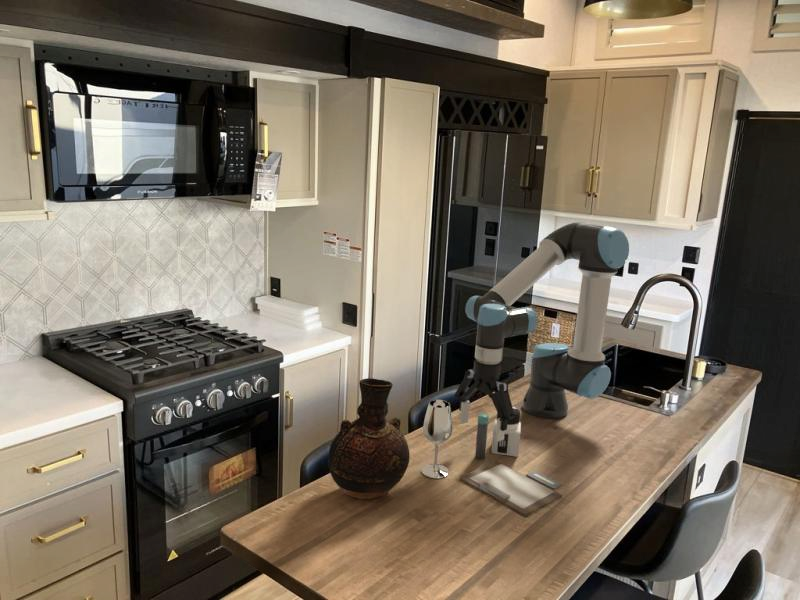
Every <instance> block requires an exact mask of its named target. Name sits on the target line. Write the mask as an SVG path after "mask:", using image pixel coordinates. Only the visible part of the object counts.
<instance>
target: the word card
mask: <svg viewBox="0 0 800 600" xmlns="http://www.w3.org/2000/svg"><path fill="white" fill-rule="evenodd" d="M525 476H526V477H528V478H530V479H532V480H534V481H536V482H538V483H540V484H542V485H544V486H546V487H548V488H550V489H552V490H553V491H555V490H556V489H558V488H560V487H562V486H563V485H562V483H560V482H559V481H556V480H554V479H552V478H551V477H548V476H546V475H544V474H542V473H540V472H538V471H536V470H532V471H530V472H528V473H527V474H526V475H525Z"/></svg>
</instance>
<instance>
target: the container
mask: <svg viewBox="0 0 800 600" xmlns="http://www.w3.org/2000/svg"><path fill="white" fill-rule="evenodd" d="M512 407H513V411H514V415H515V418H513V419H511V420H508V424H507V430H505V434H504V440H501V441H498V442H497V441H495V440H496V430H497V421H498V419H499V418H500V417H499V414H498V412H497V411H496V419H494V423H493V431H492V440H491V441H492V442H491V454H495V455H502V456H510V457H516V458H517V457H519V450H520V441H521V434H522V433H521V428H522V422H521V421H520V417H521V411H520V409H518V408H517V407H514V406H512ZM503 415H504V414H503Z"/></svg>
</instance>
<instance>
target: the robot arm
mask: <svg viewBox="0 0 800 600" xmlns="http://www.w3.org/2000/svg"><path fill="white" fill-rule="evenodd" d="M629 243H630V242H629V240H628V237H627V236H626V233H624V232H623V231H622V230H621V229H619V228H616V227H615V228H614V227H611V226H609V225H608V226H607V225H600V224H594V223H593V224H592V223H586V222H581V221H579V222H576V221H575V222H571V223H568V224H565V225H563V226H561V227H559V228H557V229H555V230H553V231H552V232H550V233H549V234H548V235H547V236H545V237H544V238H543V239H541V241H540V242H539V244H538V248H536V249H535V250H534V251H533V252H532V253H531V254H530V255H529V256H527V257H526V258H525V259H524V260H522V262H520V263H519V264H518V265H517V266H516V267H514V269H512V270H511V271H510V272H509V273H508V274H507V275H506V276H505V277H503V278H502V279H501V280H499V282H498V283H496V284H495V285H494V286H493V287H492V288H490V290H488V292H485V294H484V295H483V296H482V295H473V296H471V297H469V299H467V302H466V304H465V309H464V311H465V314H466V316H467V318H468V319H470V320H472V321H474V322H475V323H477V325H476V338H475V348H474V349H475V350H474V358H475V359H474V360H473V368H471V369H467V370H465V373H464V377H463V379H462V381H461V383H460V384H459V386H458V387H457V389H456V392H455V393H454V397H455V398H458V401H459V409H458V410H459V412H460V415H459V424H461V425H463V424H466V423H468V422H469V415H470V400H469V399H470V398H471V397H472V396H473V395H474V394H475V393H476V392H477V391H479V392H482V393H484V394H485V395H488V397H489V398H491V401H492V403H493V405H494V407H495V410H496V413H497V412H498V414H499V417H500V418H499V419H498V421H497V430H496V440H495V441H497V442H498V441H501V440H504V434H505V430H507V424H508V420H511V419H513V418H515V415H514V411H513V407H514V406H513V404H512V400H511V397H510V393H509V383H508V382H500V376H501V372H502V364H503V363H502V360H503V355H504V354H503V353H504V345H505V344H504V343H505V338H511V337H516V336H517V337H518V336H524V335H527V334H530V333H532V332H534V331H536V329H537V327H538V321H539V319H538V315H537V313H536V311H535V310H534V309H533V308H531V307H527V306H525V307H523V306H521V307H514V306H512V305H513V304H514V303H515V302H516V301H517V300H519V298H521V297H522V296H523V295H524V294H526V292H527V291H528V290H529V289H530V288H532V287H533V286H534V285H535V284H536V283H537V282H538V281H540V279H542V278H543V277H544V276H545V275H546V274H547V273H549V271H551V269H553V268H555V266H560V265H562V264H563V263H564V262H566V261H568V260H575V261H576V260H578V267H577V268H578V270H579V271H580V273H582V277H581V283H580V293H579V297H578V298H579V299H578V306H577V307H578V308H577V315H576V321H575V330H574V336H573V337H574V338H573V345H572V347H571V348H570V346H569V345H567V344H565V343H558V342H546V343H540V344H537V345H535V346H534V348H533V350H532V351H533V353H532V356H531V369H530V378H529V379H530V381H529V387H528V389H527V390H526V393H525V395H524V397H523V400H522V406H521V407H522V409H523V410H524V411H525V412H526V413H527V414H530V415H532V416H535V417H537V418H544V419H560V418H563V417H565V416H567V415H568V413H569V411H568V410H569V404H568V399H567V396H566V392H565V391H569V392H570V393H573V394H574V395H577V396H578V397H583V398H585V399H588V400H593V399H596V398H598V397H599V396H601V395H602V394H603V393H604V392H605V390H606V389H607V387H608V386H609V384H610V381H611V377H612V376H611V375H612V372H611V369H610V367H608V365H605V364H606V363H605V361H606V356H605V354H604V353H603V352H602V347H603V339H604V334H605V326H606V320H607V311H608V303H609V298H610V297H609V296H610V289H611V283H612V277H614V276H615V275H616V274H617V273H618V270H619V269H620V268H622V267H623V266H624V265H625V264H626V261H627V260H628V259H629V252H630V244H629ZM472 381H474V383H473V384H472V385H470V384H471V382H472ZM503 414H504V415H503Z"/></svg>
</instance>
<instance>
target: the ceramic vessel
mask: <svg viewBox="0 0 800 600" xmlns="http://www.w3.org/2000/svg"><path fill="white" fill-rule="evenodd" d="M392 388H393V383H392V382H391V381H389V380H385V379H377V378H373V377H371V378H363V379H361V380H359V391H360V394H361V395H360V396H361V400H360V401H361V402H360V404H359V405H358V407H357V409H356V410H357V411H356V413H357V415H358V418H356V419H354V420H353V421H350V420H348V419H343V420H342V421H341V423H340V429H339V431H338V432H337V434H335V436H334V438H333V439H332V441H331V443H330V446H329V450H328V455H327V456H328V457H327V464H328V470H329V473H330V476H331V478H332V480H333V482H334V483H336V485H337V486H338V487H339V488H340V490H342V491H343V492H344V493H345V494H346V495H349V496H351V497H353V498H357V499H359V500H373V499H376V498H379V497H382V496H383V495H385V494H386V493H388V492H389V491H391V490H392V489H393V488H395V487H396V485H397V484H399V482H400V481H401V480H402V478H403V477H404V475H405V473H406V471H407V469H408V467H409V464H410V448H409V444H408V442H407V439H406V438H405V436H404V434H403V433H402V431H401V430H400V427H401V419H400V418H398V417H395V418H391V419H387V418H386V416H387V415H388V413H389V404H388V399H389V395H390V393H391V390H392Z"/></svg>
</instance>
